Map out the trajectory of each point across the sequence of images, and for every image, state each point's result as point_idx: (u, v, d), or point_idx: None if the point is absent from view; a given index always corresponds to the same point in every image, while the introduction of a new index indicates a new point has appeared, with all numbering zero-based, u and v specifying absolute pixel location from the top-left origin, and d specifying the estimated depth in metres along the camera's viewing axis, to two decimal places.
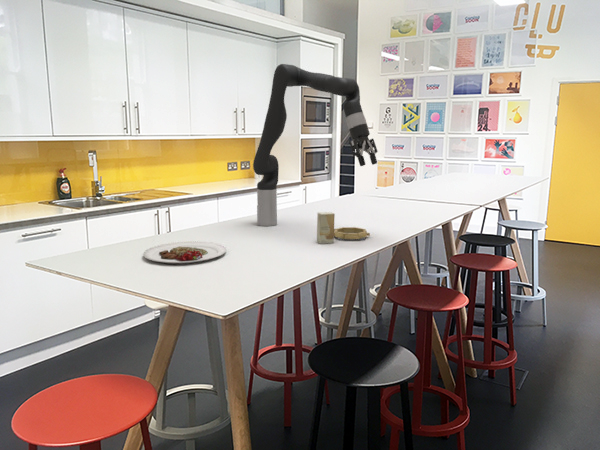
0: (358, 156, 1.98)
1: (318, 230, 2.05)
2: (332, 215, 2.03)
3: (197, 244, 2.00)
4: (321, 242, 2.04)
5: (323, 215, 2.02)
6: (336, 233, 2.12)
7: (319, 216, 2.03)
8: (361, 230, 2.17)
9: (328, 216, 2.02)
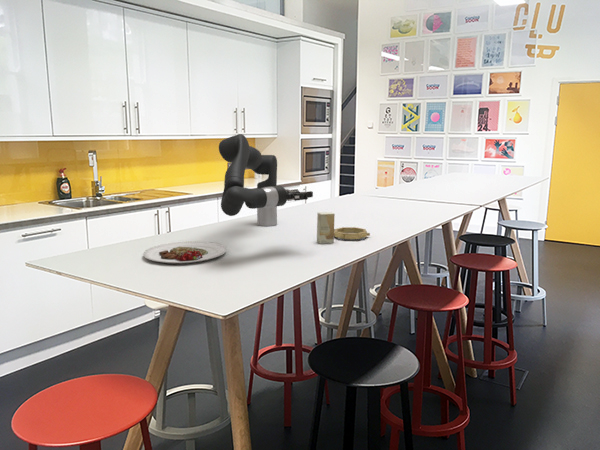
0: None
1: (318, 230, 2.05)
2: (332, 215, 2.03)
3: (197, 244, 2.00)
4: (321, 242, 2.04)
5: (323, 215, 2.02)
6: (336, 233, 2.12)
7: (319, 216, 2.03)
8: (361, 230, 2.17)
9: (328, 216, 2.02)
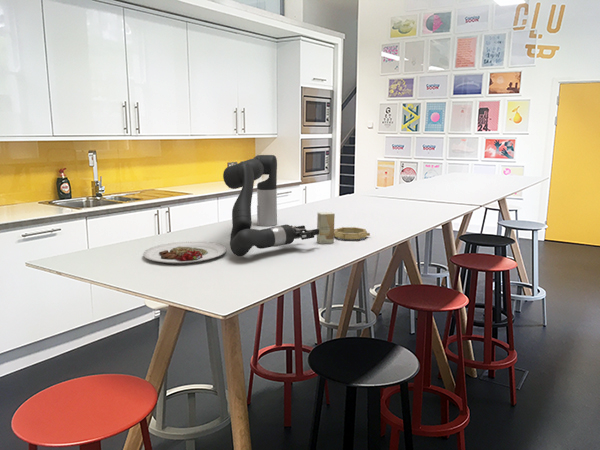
0: None
1: None
2: (332, 215, 2.03)
3: (197, 244, 2.00)
4: (321, 242, 2.04)
5: (323, 215, 2.02)
6: (336, 233, 2.12)
7: (319, 216, 2.03)
8: (361, 230, 2.17)
9: (328, 216, 2.02)
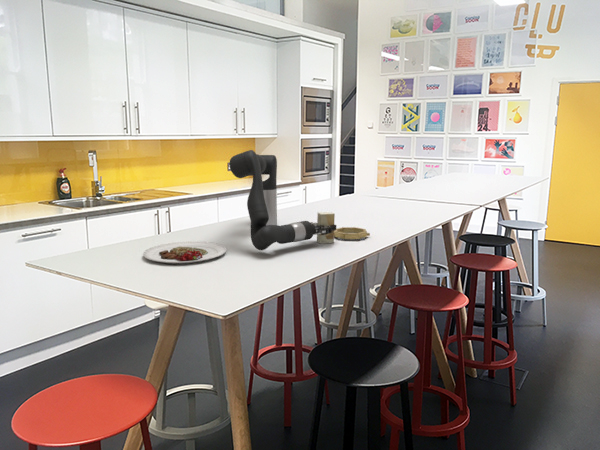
0: None
1: None
2: (332, 215, 2.03)
3: (197, 244, 2.00)
4: (321, 241, 2.04)
5: (323, 215, 2.02)
6: (336, 233, 2.12)
7: (319, 216, 2.03)
8: (361, 230, 2.17)
9: (328, 216, 2.02)
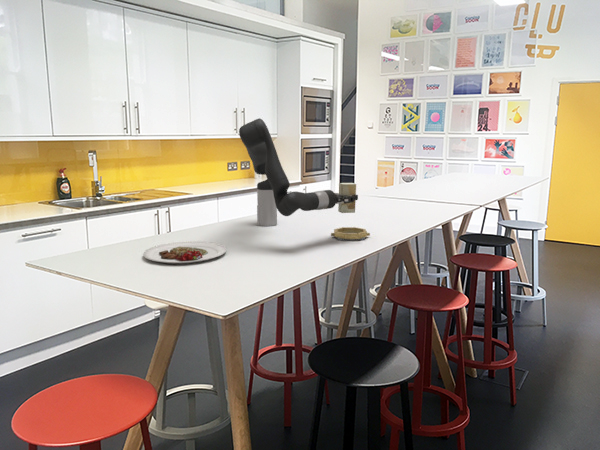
0: None
1: None
2: (354, 185, 2.08)
3: (197, 244, 2.00)
4: (342, 211, 2.09)
5: (345, 185, 2.07)
6: (336, 233, 2.12)
7: (341, 186, 2.08)
8: (361, 230, 2.17)
9: (350, 186, 2.08)
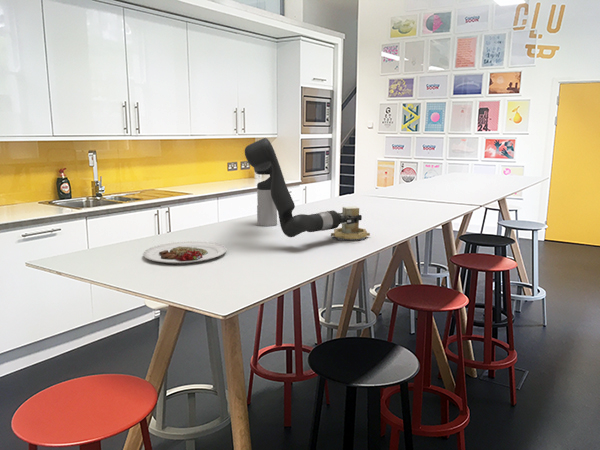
0: None
1: (343, 224, 2.13)
2: (357, 209, 2.11)
3: (197, 244, 2.00)
4: None
5: (349, 209, 2.10)
6: (336, 233, 2.12)
7: (345, 210, 2.11)
8: (361, 230, 2.17)
9: (353, 210, 2.11)
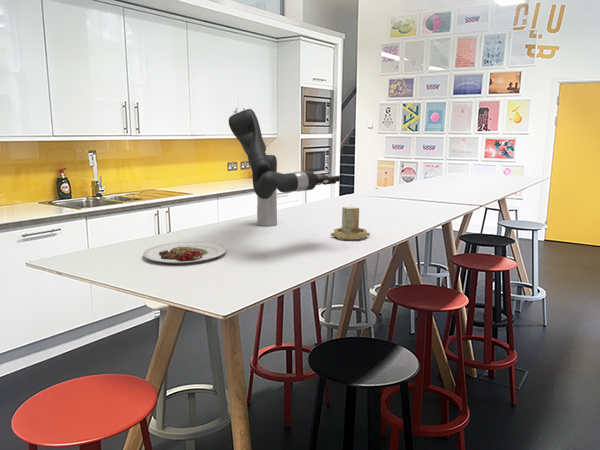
0: None
1: (343, 224, 2.13)
2: (357, 209, 2.11)
3: (197, 244, 2.00)
4: None
5: (349, 209, 2.10)
6: (336, 233, 2.12)
7: (344, 210, 2.11)
8: (361, 230, 2.17)
9: (353, 210, 2.11)
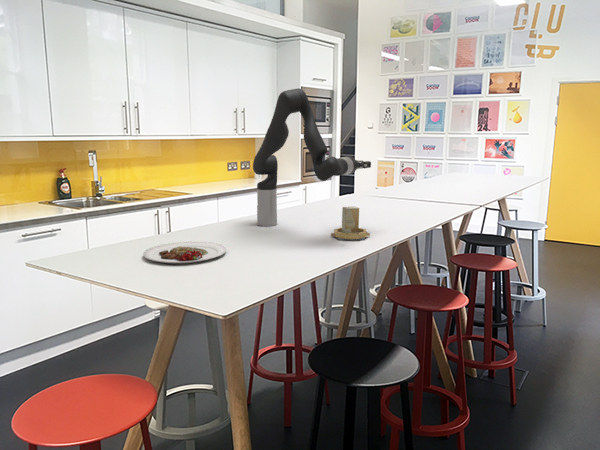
0: None
1: (343, 224, 2.13)
2: (357, 209, 2.11)
3: (197, 244, 2.00)
4: None
5: (349, 209, 2.10)
6: (336, 233, 2.12)
7: (344, 210, 2.11)
8: (361, 230, 2.17)
9: (353, 210, 2.11)
